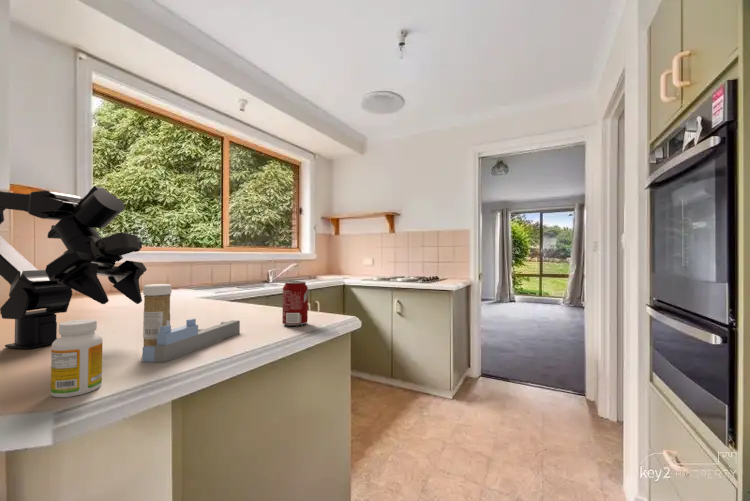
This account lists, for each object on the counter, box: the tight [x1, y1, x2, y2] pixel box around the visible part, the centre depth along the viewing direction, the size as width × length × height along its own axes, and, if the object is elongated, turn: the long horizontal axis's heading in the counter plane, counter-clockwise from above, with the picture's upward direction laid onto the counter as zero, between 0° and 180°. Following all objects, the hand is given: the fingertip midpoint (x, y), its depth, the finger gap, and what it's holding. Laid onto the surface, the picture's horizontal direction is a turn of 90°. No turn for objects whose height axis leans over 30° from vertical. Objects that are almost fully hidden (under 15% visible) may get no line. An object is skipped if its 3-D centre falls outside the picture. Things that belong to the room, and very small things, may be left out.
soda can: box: [281, 280, 309, 327], centre depth 91 cm, size 7×7×12 cm
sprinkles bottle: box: [142, 283, 172, 347], centre depth 64 cm, size 5×5×14 cm
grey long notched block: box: [141, 318, 241, 364], centre depth 70 cm, size 4×23×6 cm, turn 170°
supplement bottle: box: [50, 318, 103, 398], centre depth 46 cm, size 5×5×10 cm
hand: (124, 302), depth 66 cm, fingers open, 9 cm apart
